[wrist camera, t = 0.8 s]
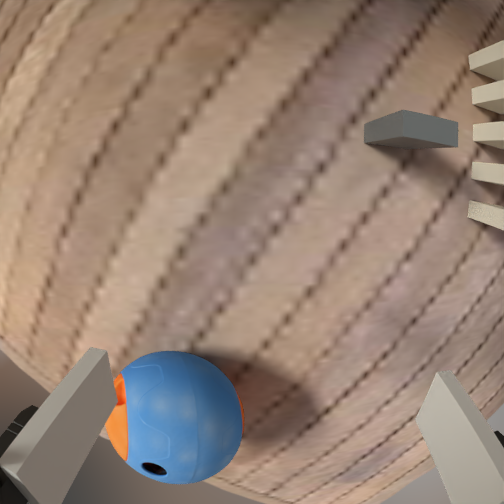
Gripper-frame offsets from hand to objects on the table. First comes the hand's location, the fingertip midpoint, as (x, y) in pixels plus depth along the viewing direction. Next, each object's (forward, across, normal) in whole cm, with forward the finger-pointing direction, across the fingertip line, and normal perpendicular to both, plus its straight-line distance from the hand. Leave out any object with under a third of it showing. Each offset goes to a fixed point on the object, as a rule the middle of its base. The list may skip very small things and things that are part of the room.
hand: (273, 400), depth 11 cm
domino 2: (+23, +25, +24) cm, 41 cm away
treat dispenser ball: (+23, -9, -18) cm, 30 cm away
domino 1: (+23, +11, +12) cm, 28 cm away
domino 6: (+23, +25, +6) cm, 34 cm away
